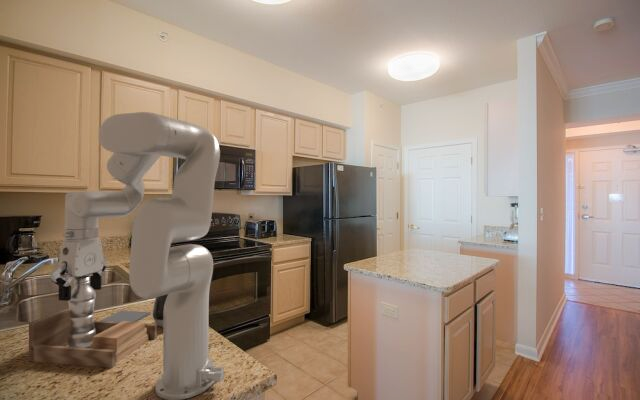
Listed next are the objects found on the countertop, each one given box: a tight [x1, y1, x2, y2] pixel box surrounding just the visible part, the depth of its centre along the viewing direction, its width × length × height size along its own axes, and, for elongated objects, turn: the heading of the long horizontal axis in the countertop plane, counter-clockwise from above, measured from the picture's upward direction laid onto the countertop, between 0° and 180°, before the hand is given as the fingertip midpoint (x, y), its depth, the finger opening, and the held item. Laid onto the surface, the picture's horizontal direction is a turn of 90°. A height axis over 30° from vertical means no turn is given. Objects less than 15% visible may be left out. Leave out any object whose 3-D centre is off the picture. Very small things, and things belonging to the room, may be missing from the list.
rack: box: [28, 307, 158, 369], centre depth 86 cm, size 24×17×10 cm
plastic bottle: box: [67, 275, 97, 348], centre depth 87 cm, size 6×7×20 cm
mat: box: [99, 310, 152, 322], centre depth 107 cm, size 12×12×1 cm
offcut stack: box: [90, 321, 149, 363], centre depth 86 cm, size 8×12×6 cm, turn 172°
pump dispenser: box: [152, 294, 168, 328], centre depth 103 cm, size 10×10×15 cm
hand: (81, 294), depth 87 cm, fingers open, 9 cm apart
